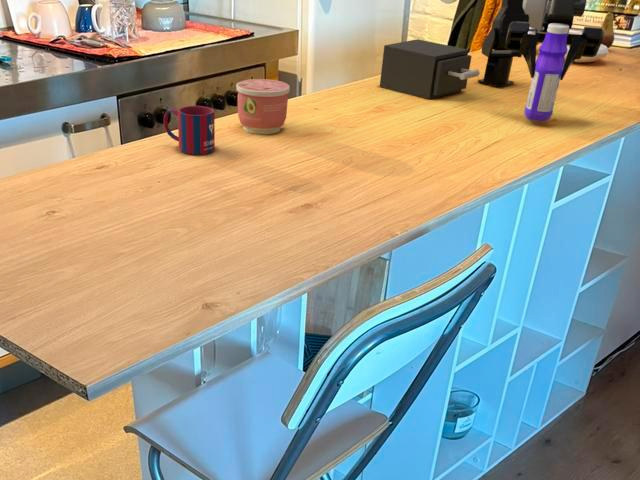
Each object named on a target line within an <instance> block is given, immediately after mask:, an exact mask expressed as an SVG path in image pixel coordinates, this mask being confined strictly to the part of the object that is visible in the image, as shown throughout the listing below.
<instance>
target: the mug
mask: <svg viewBox="0 0 640 480" xmlns="http://www.w3.org/2000/svg"><path fill="white" fill-rule="evenodd" d="M170 113H172V114H174V115H175V116H177V128H178V129H177V131H178V132H177V133H178V135H175V133H173V132H172V131H171V129H170V127H169V123H168V121H169V120H168V118H169V114H170ZM215 115H216V113H215V109H214V108H212V107H209V106H203V105H186V106H182V107H180V108H178V109H174V108H173V109H172V108H171V109H168V110H166V111H165V113H164V115H163V126H164V129H165V130H164V131H165V133H167V135H168V136H169V137H170V138H172V140H174V141H176V142H178V150H179V152H181V153H183V154H186V155H193V156H202V155H208V154H211V153H213V152H214V151H215V146H216V144H215V143H216V141H215V136H216V135H215V134H216V133H215V127H216V126H215V124H216V123H215V121H216V120H215V117H216V116H215Z"/></svg>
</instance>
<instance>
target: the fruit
mask: <svg viewBox="0 0 640 480" xmlns="http://www.w3.org/2000/svg"><path fill="white" fill-rule="evenodd" d="M616 6H617V3H615V4H614V5H613V7H612V9H611V10H610V11H608V12H607V13H606V14H605V17H604V19H603V21H602V24H601V26H600V28H602V29H603V31H604V36H603V40H602V43H601V44H603V45H605V46H607V48H608V49H609V48H611V47H612V46H613V43H614V42H615V32H614V13H613V10H614V8H615V7H616Z"/></svg>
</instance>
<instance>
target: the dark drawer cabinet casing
mask: <svg viewBox="0 0 640 480" xmlns="http://www.w3.org/2000/svg"><path fill="white" fill-rule="evenodd" d="M465 55H469V49H467V48H462V47H458V46H453V45H448V44H444V43H438V42H435V41H434V42H433V41H428V40H423V39H419V38H418V39H411V40H405V41H401V42H400V41H399V42H395V43H390V44H385V45H384V46H383V54H382V63H381V73H380V80H379V88H383V89H386V90H391V91H395V92H399V93H401V94H402V93H403V94H407V95H410V96H415V97H418V98H422V99H426V100H431V99H437V98H440V97H443V96H444V97H445V96H448V95H452V94H456V93H460V92H462V90H458V91H454V92H450V93H446V94H442V95H438V96H436V95H433V85H434V78H435V72H436V65H437V60H441V59H446V58H451V57H456V56H465Z"/></svg>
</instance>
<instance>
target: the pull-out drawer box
mask: <svg viewBox="0 0 640 480" xmlns="http://www.w3.org/2000/svg"><path fill="white" fill-rule="evenodd" d="M471 61H472V55H470V54H468V55H465V56H456V57H451V58H446V59H441V60H437V65H436V72H435V78H434V85H433V95H436V96H438V95H442V94H446V93H450V92H454V91H458V90H461V91H462V90H465V89H467V85H468V79H472V78H476V77H479V76H480V70H479V69H474V70H473V69H470V68H471V63H472V62H471Z"/></svg>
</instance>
